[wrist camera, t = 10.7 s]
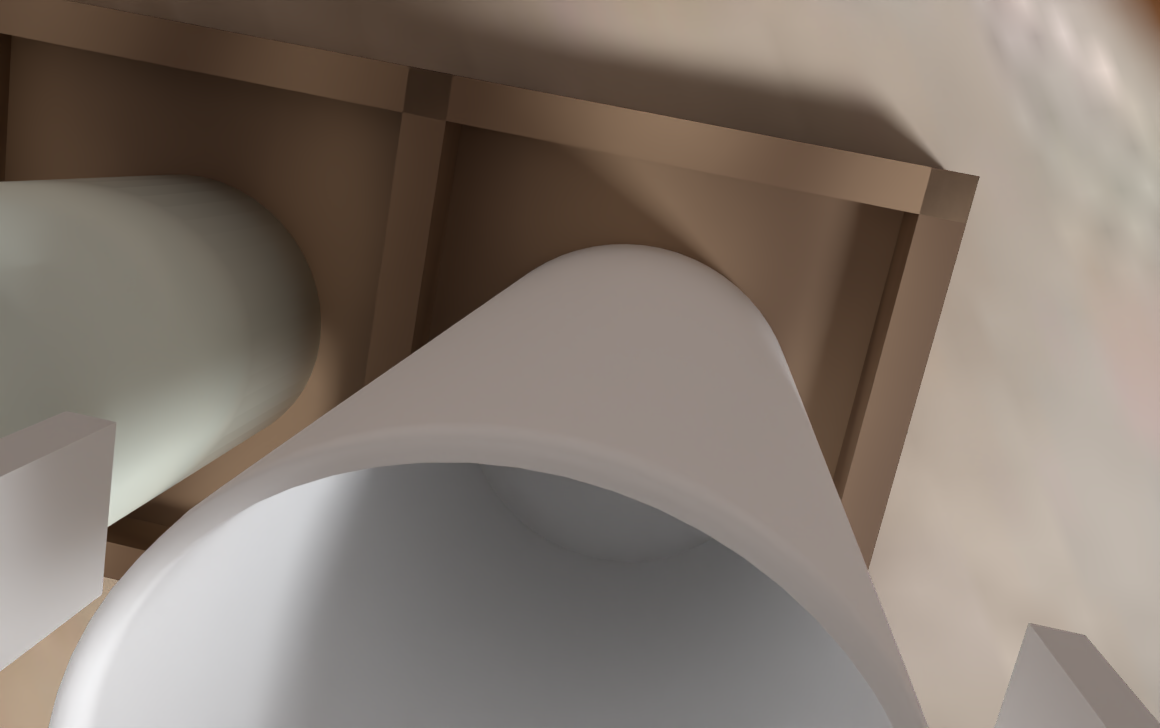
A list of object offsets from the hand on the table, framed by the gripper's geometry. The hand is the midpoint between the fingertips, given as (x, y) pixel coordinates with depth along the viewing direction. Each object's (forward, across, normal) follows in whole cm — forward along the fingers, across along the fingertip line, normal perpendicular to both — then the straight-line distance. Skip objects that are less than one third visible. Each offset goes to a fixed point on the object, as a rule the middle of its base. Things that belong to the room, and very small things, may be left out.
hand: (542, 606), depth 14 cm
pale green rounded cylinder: (+11, -11, 0) cm, 15 cm away
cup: (+11, 0, 0) cm, 11 cm away
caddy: (+12, -5, 0) cm, 13 cm away
